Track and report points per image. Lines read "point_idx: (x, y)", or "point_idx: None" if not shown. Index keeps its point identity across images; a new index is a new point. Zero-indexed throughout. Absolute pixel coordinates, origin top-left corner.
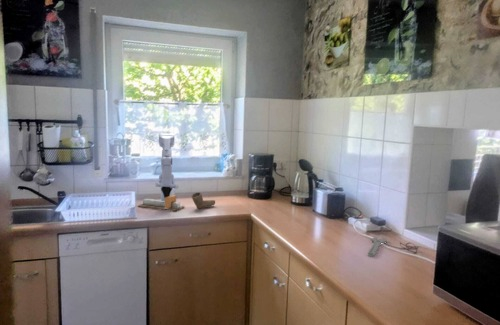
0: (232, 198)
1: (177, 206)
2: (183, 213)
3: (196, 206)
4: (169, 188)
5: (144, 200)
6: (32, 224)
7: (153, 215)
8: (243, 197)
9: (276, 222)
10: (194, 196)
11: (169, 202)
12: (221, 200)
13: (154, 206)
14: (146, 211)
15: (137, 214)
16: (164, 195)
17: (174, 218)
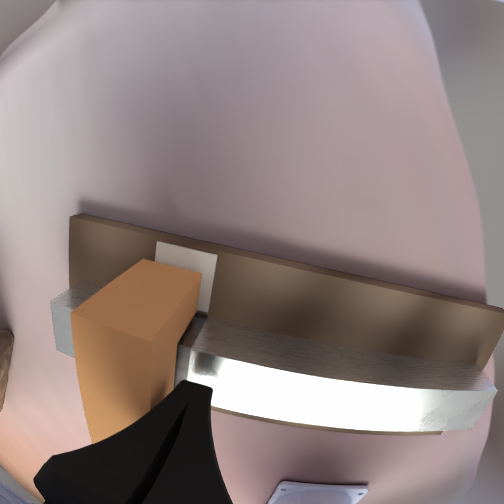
0: None
1: (70, 288)
2: (19, 178)
3: (2, 338)
4: (42, 495)
5: (481, 386)
6: None
7: (241, 11)
8: (24, 483)
9: None
10: None
11: (109, 286)
12: None
13: (356, 318)
14: (392, 148)
15: (420, 25)
16: (197, 424)
17: (46, 21)
